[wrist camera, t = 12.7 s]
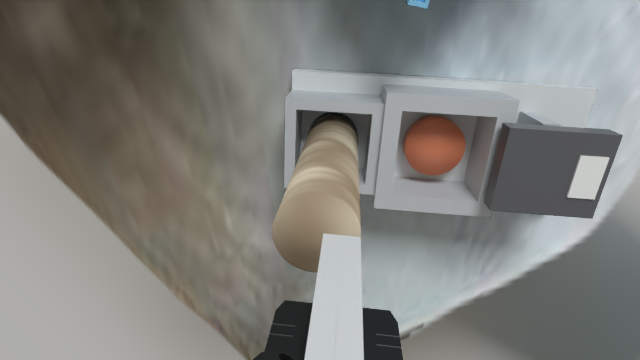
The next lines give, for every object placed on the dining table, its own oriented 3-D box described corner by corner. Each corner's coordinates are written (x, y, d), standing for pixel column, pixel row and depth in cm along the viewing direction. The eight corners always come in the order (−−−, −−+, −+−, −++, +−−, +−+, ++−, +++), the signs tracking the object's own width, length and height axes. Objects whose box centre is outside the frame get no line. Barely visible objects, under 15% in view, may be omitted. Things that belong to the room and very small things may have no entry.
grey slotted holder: (292, 180, 35) (282, 207, 30) (294, 68, 32) (283, 77, 26) (550, 200, 34) (584, 231, 29) (586, 86, 30) (633, 99, 25)
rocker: (483, 201, 28) (490, 211, 27) (502, 122, 26) (511, 128, 25) (581, 209, 28) (593, 219, 27) (609, 129, 26) (624, 136, 24)
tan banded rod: (307, 158, 33) (271, 269, 18) (309, 110, 31) (271, 189, 17) (355, 161, 33) (357, 277, 18) (360, 113, 31) (366, 197, 16)
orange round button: (399, 167, 32) (401, 173, 31) (407, 113, 31) (409, 117, 29) (455, 171, 32) (459, 177, 31) (465, 117, 30) (470, 121, 29)
